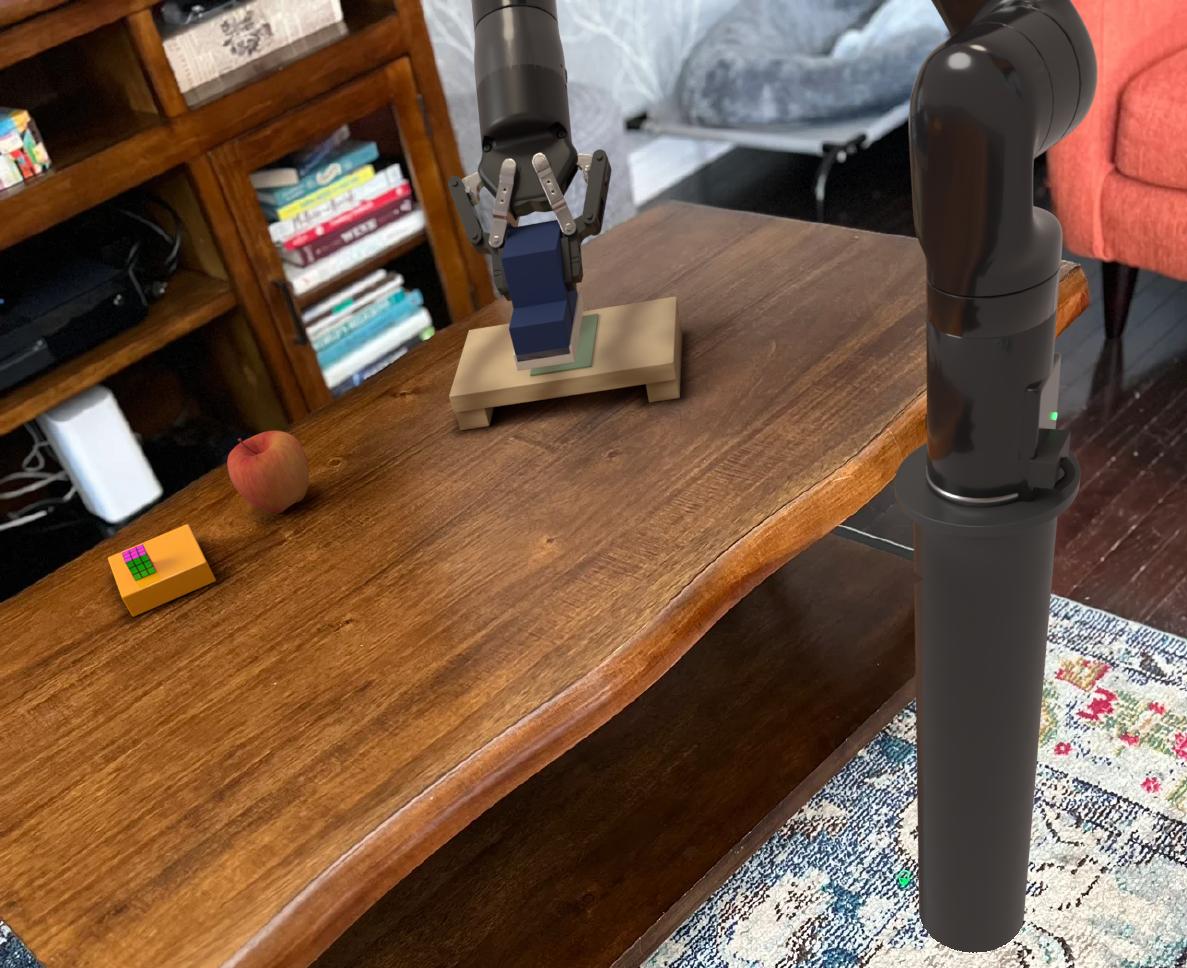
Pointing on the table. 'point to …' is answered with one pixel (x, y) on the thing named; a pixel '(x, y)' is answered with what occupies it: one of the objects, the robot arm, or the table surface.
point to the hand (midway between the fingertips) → (540, 291)
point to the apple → (270, 470)
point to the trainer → (540, 297)
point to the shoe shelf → (603, 361)
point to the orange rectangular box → (160, 570)
